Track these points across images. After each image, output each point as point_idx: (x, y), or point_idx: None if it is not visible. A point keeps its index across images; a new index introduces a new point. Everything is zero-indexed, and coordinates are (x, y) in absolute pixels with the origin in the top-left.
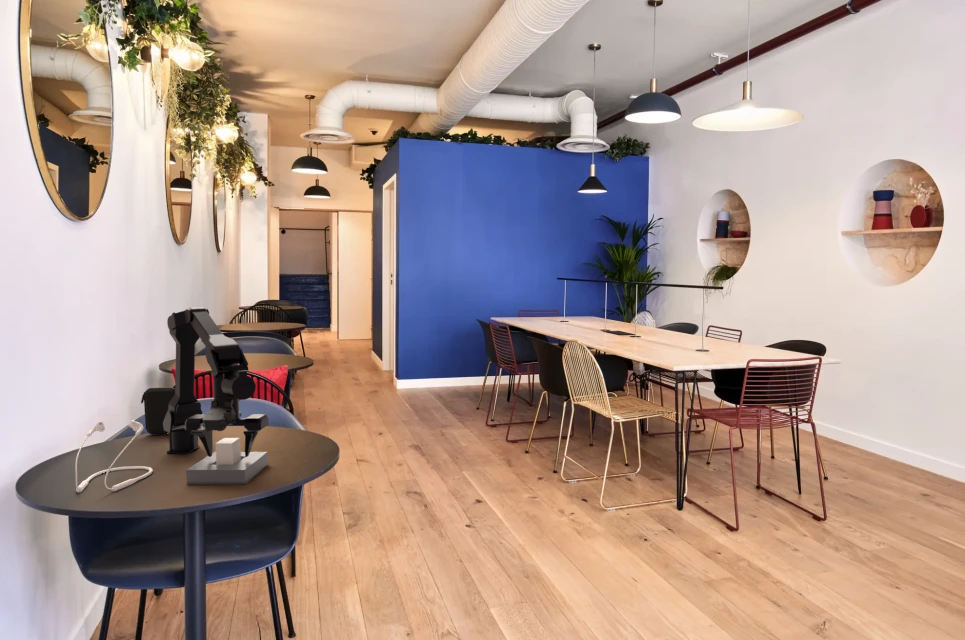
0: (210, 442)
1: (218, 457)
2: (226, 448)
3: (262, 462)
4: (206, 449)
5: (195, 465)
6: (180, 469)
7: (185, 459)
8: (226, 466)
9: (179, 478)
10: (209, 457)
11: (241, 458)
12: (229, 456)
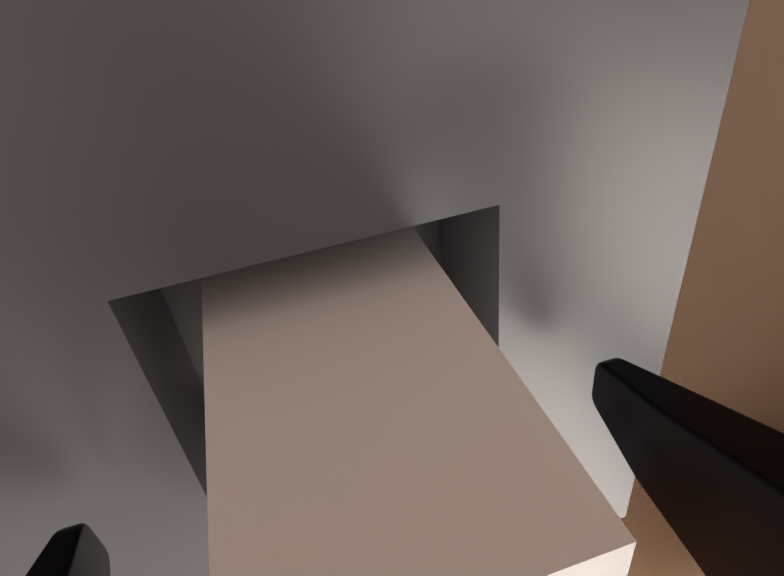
0: (737, 556)
1: (444, 335)
2: (339, 515)
3: None
4: (713, 414)
5: (689, 124)
6: (769, 288)
7: None
8: (180, 185)
9: (739, 85)
10: None
11: None
12: (257, 401)
